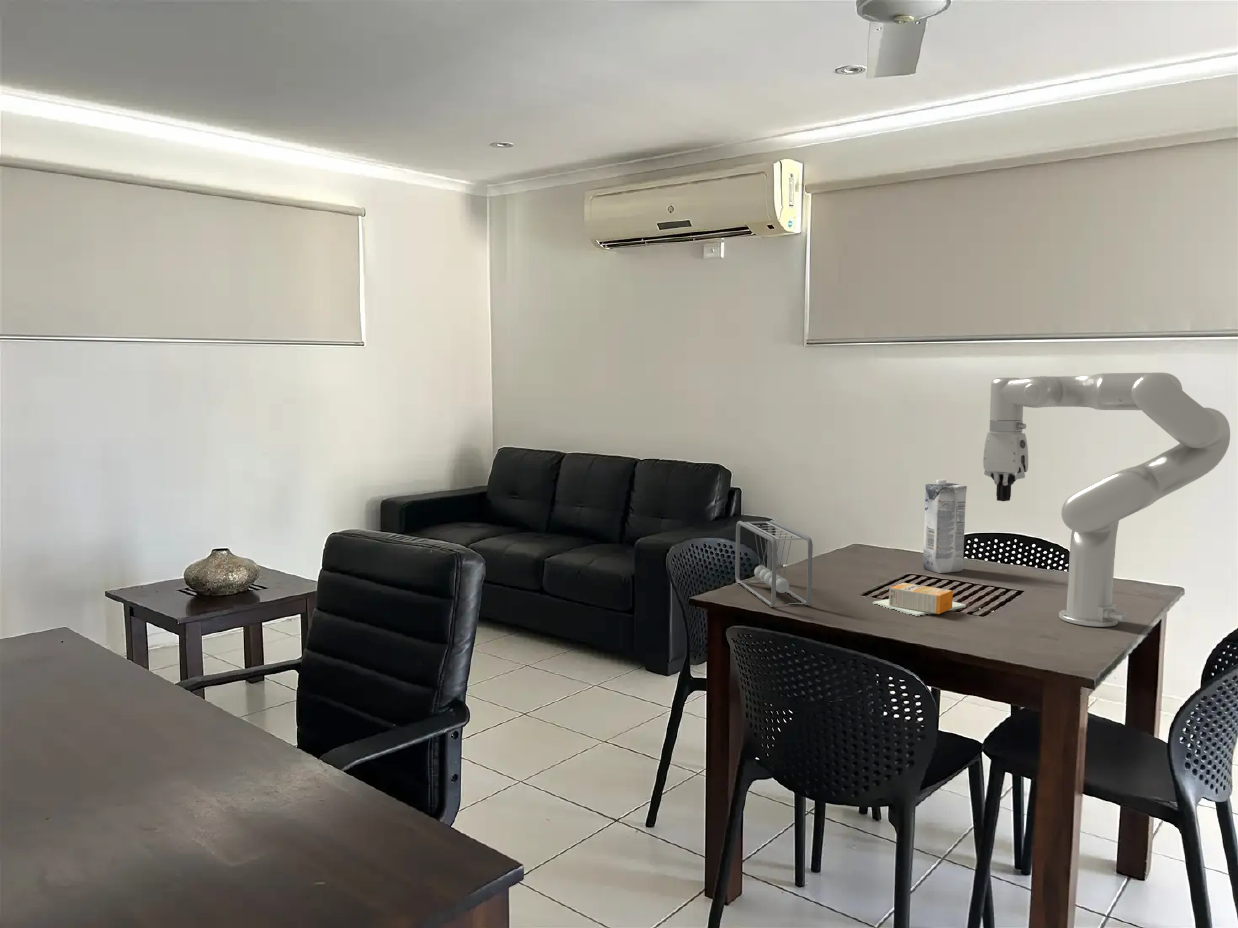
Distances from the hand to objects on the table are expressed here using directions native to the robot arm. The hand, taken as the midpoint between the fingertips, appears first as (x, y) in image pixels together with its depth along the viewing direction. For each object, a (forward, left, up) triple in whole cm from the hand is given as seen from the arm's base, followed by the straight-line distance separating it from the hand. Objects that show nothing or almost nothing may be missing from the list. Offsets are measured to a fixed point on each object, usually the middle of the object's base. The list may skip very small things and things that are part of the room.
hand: (1003, 500), depth 231 cm
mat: (+10, +18, -27) cm, 34 cm away
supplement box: (+1, +18, -24) cm, 30 cm away
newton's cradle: (+38, +42, -27) cm, 63 cm away
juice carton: (+35, -21, -27) cm, 49 cm away
